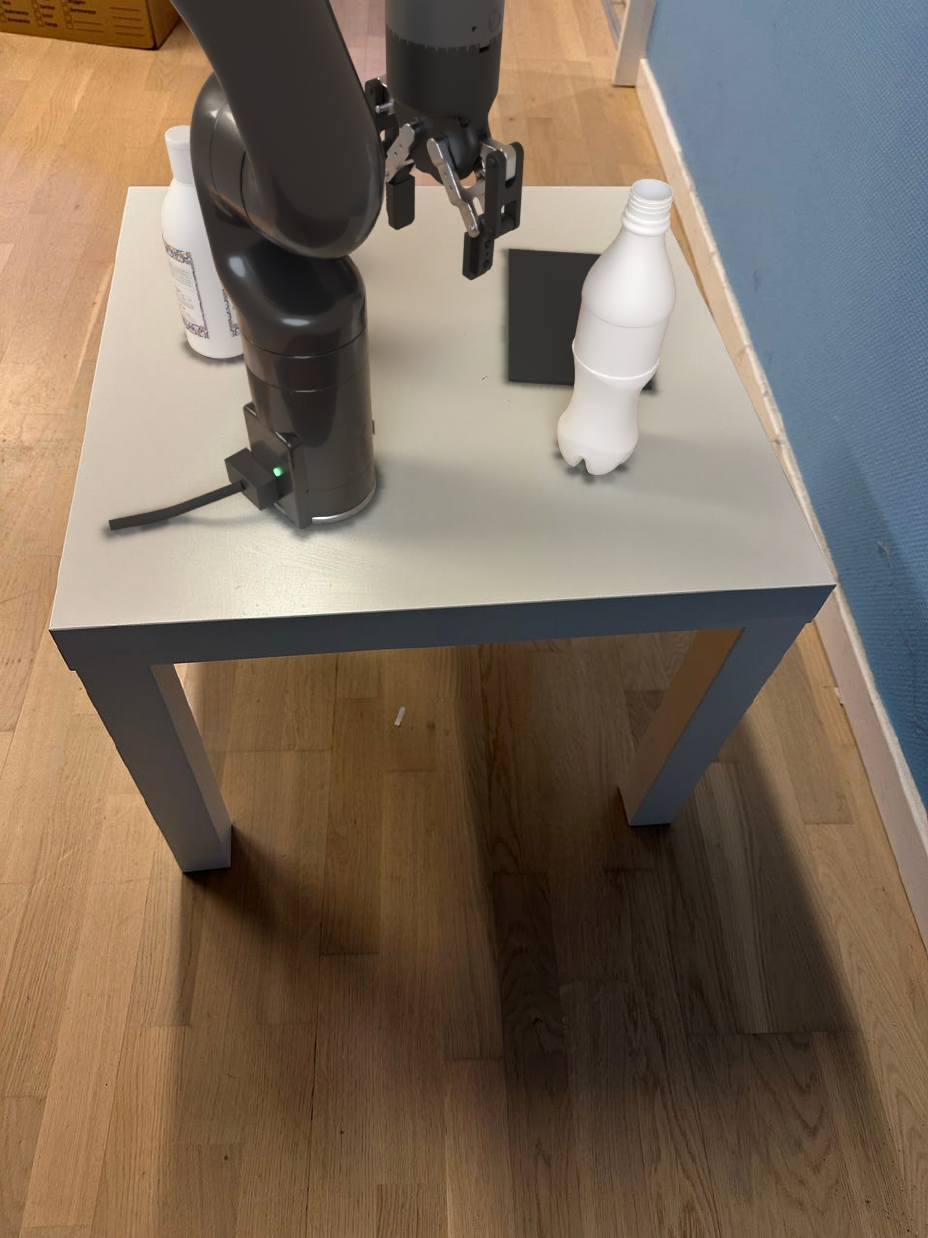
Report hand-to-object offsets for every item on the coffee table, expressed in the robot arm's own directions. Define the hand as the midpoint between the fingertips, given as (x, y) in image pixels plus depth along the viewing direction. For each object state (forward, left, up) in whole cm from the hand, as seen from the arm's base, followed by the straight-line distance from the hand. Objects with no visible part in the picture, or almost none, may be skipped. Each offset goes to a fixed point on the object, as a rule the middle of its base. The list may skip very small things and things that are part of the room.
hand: (437, 249), depth 70 cm
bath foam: (-8, +22, -17) cm, 29 cm away
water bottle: (+8, -13, -17) cm, 23 cm away
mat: (+22, +2, -17) cm, 28 cm away
